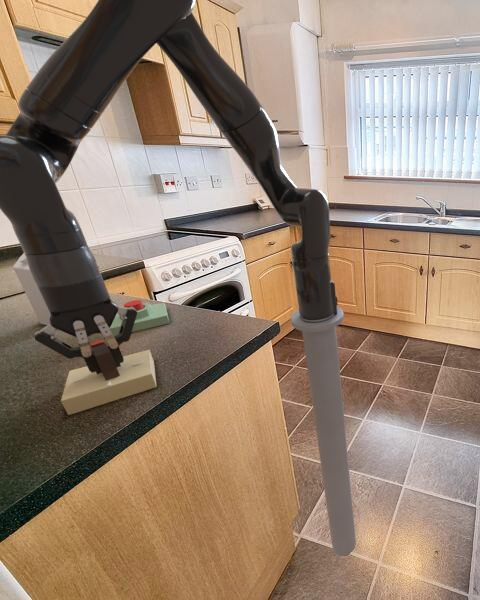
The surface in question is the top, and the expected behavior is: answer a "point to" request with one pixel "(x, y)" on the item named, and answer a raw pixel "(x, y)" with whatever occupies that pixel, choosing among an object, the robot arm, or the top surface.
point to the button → (135, 304)
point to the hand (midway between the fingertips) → (108, 368)
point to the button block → (144, 318)
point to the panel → (108, 383)
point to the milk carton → (32, 290)
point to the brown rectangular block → (105, 360)
